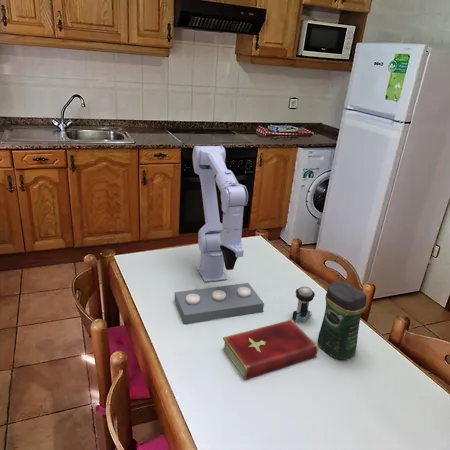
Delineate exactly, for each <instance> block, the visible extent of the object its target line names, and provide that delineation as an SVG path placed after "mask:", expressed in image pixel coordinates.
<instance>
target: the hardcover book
mask: <svg viewBox="0 0 450 450" xmlns="http://www.w3.org/2000/svg"><path fill="white" fill-rule="evenodd" d="M222 340H223V341H224V345H223V346H224V347H223V350H224V351H225V353H226V354H227V355H228V357H229V358H230V360H231V361H232V362H233V364H234V365H235V366H236V368H237V369H238V371H239V372H240V374H241V375H242V376H243V380H244V381H245V380H248V379H252V378H254V377H258V376H261V375H265V374H267V373H271V372H273V371H277V370H279V369H283V368H286V367H289V366H291V365H296V364H298V363H302V362H305V361H308V360H311V359H314V358H316V357H318V356H317V355H318V351H319V347H318V345H319V344H318V343H316V342H315V341H314V340H313V339H312V338H311V337H310V336H308V334H307V333H306V332H304V330H303V329H301V328H300V326H298V325H297V324H296V323H295V322H294V320H293V319H289V320H284V321H281V322H277V323H273V324H269V325H265V326H262V327H258V328H254V329H249V330H245V331H241V332H239V333H235V334H231V335H227V336H224V337H222Z"/></svg>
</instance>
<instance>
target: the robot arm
mask: <svg viewBox="0 0 450 450" xmlns="http://www.w3.org/2000/svg"><path fill="white" fill-rule="evenodd" d="M226 153H227V152H226V149H225V147H224V146H223V145H195V146H194V147H193V151H192V166H193V171H194V173H195V174H196V175H198V177H199V180H200V181H199V182H200V185H201V196H202V203H203V206H202V207H203V214H204V222H205V224H204V225H203V226H202V227H201V228H200V229H199V230H198V234H197V235H198V239H197V243H198V249H199V251H200V254H199V257H200V259H199V266H198V267H197V268H196V269H197V271H198V273H199V275H200V277H201V279H202V280H203V282H204V283H208V282H209V283H210V282H217V281H225V280H227V279H228V277H227V275H226V274H225V272H224V271H225V270H226V271H233V270H234V268H235V266H236V263H237V260H238V258H243V257H244V251H245V250H244V249H243V243H242V233H243V221H244V220H243V218H244V207H245V206H247V204H248V201H249V192H248V189H247V186H246V185H243V184H241V183H239V181H238V180H237V178H236V176H235V174H234V172H233V171H232V170H231V169H228V168H227V165H226V156H227V155H226ZM216 186H217V188H218V189H219V191H220V201H221V211H222V223H221V221H220V220H221V219H220V211H219V204H218V202H219V201H218V194H217V188H216ZM224 269H225V270H224Z"/></svg>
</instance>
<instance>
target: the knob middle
mask: <svg viewBox="0 0 450 450" xmlns="http://www.w3.org/2000/svg"><path fill="white" fill-rule="evenodd" d="M212 298H213V299H214V300H215V301H223V300H225V298H226V293H225V292H224V291H221V290H216V291H214V292H213V293H212Z"/></svg>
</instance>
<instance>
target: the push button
mask: <svg viewBox="0 0 450 450" xmlns="http://www.w3.org/2000/svg"><path fill="white" fill-rule="evenodd" d="M295 297H296V298H297V300H298V301H297V308H296V310H294V311H292V316H291V318H292V319H291V320H292V321H293V322H294V321H295V322H296V323H298V324H299V323H301V322H306V321H307V320H309V319H310V316H312V315H313V314H312V313H313V311H312V310H309V306H310V302H312V301H314V298H315V297H316V294H315V291H313V289H312V288H311V287H309V286H301V287H299V288H297V289H296V290H295Z"/></svg>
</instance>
